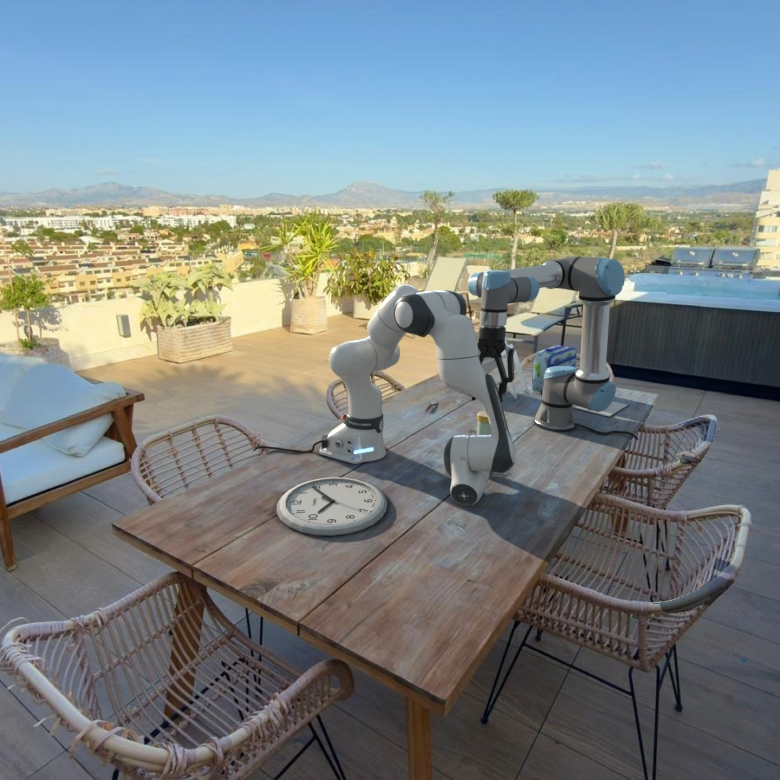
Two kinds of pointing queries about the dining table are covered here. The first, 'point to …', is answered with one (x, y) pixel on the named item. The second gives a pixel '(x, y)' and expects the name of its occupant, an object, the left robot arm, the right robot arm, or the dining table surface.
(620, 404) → the invitation card
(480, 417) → the lid
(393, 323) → the left robot arm
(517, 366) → the white plastic object
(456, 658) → the dining table surface
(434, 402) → the fork
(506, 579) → the dining table surface
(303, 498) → the wall clock
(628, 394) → the dining table surface
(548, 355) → the lunch box
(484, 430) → the green cylinder
